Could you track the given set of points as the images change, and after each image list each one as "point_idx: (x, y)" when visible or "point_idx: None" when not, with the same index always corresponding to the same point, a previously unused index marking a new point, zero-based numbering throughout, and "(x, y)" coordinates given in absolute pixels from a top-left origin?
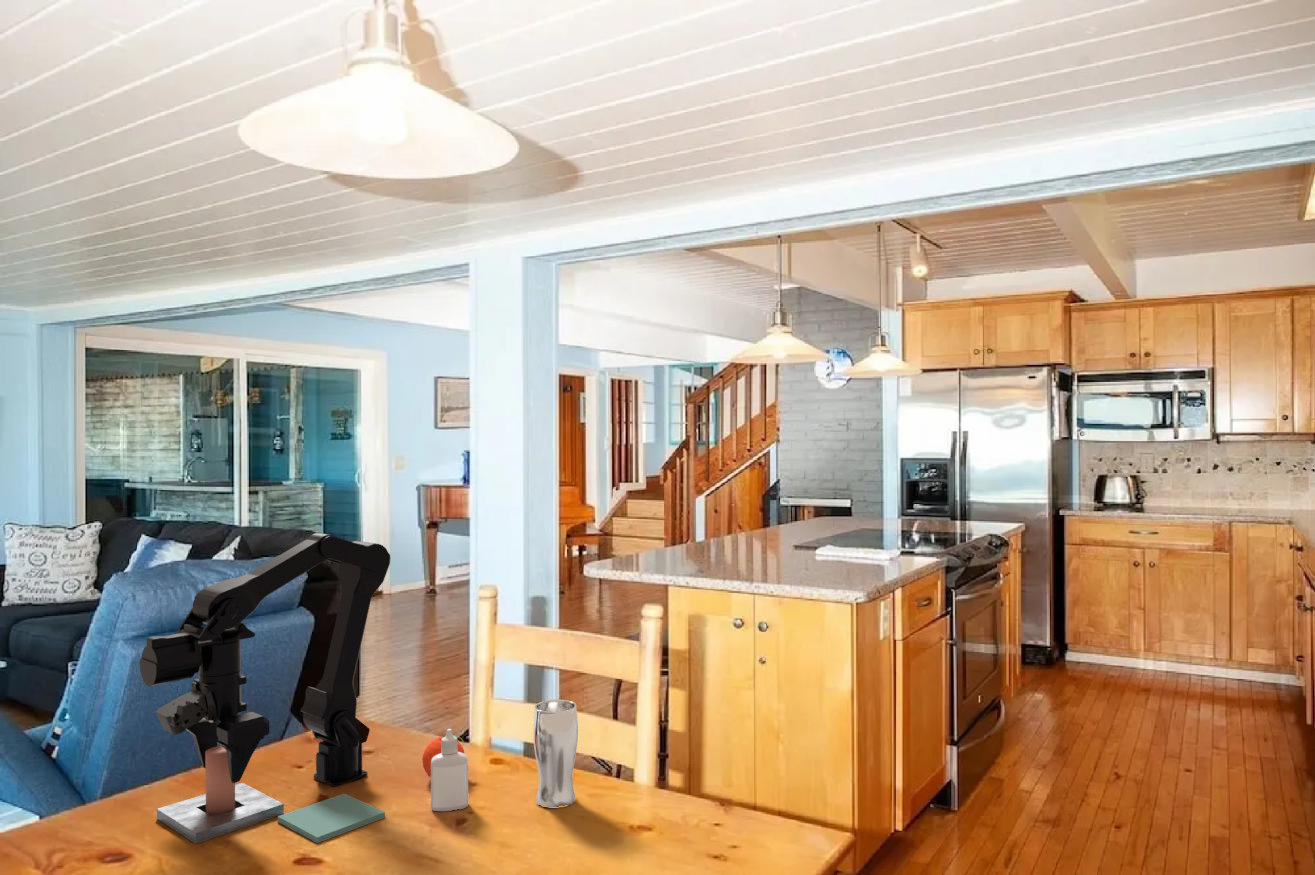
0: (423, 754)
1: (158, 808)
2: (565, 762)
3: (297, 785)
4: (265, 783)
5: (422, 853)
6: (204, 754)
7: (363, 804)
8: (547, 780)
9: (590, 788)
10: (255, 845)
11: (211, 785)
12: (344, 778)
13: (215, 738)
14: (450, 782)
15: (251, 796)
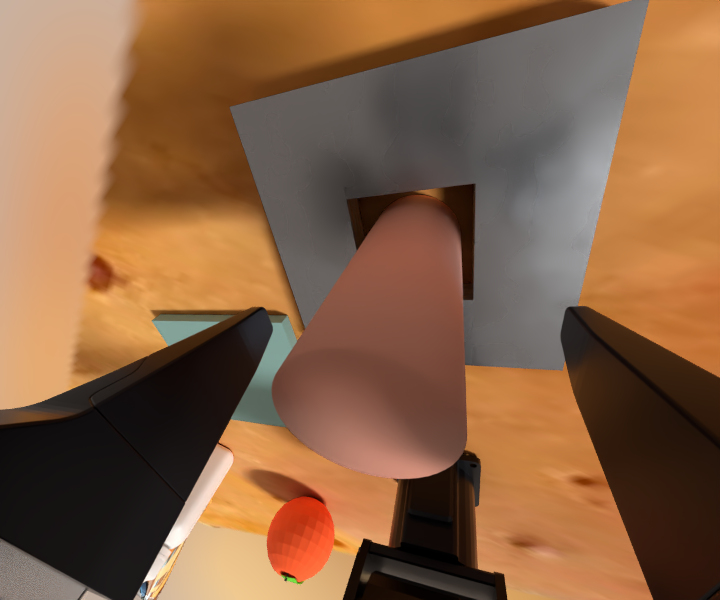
0: (304, 540)
1: (646, 8)
2: None
3: (468, 425)
4: (558, 404)
5: (99, 373)
6: (602, 369)
7: (258, 420)
8: None
9: (212, 512)
10: (186, 233)
11: (360, 253)
12: None
13: (644, 534)
14: None
15: None
